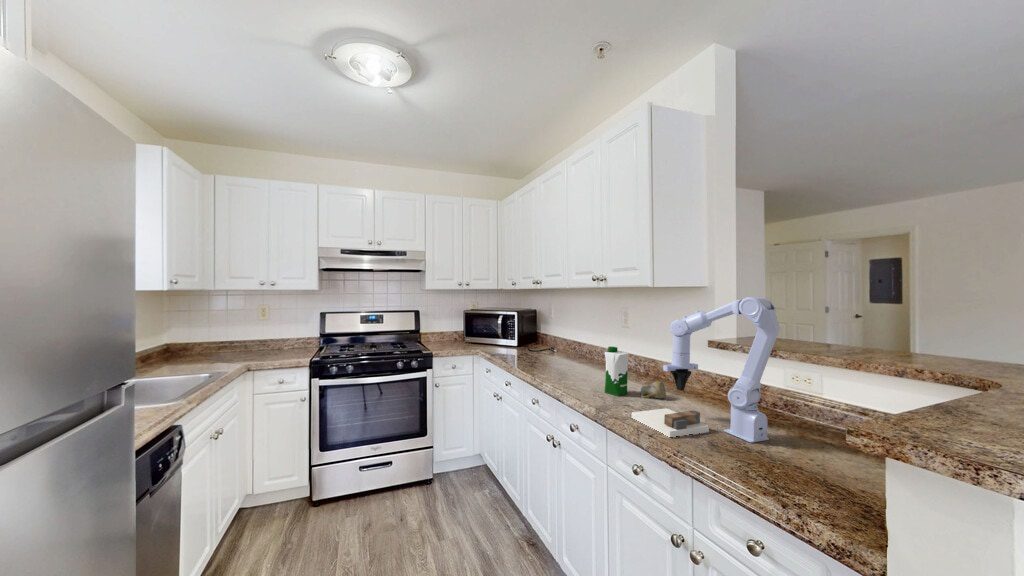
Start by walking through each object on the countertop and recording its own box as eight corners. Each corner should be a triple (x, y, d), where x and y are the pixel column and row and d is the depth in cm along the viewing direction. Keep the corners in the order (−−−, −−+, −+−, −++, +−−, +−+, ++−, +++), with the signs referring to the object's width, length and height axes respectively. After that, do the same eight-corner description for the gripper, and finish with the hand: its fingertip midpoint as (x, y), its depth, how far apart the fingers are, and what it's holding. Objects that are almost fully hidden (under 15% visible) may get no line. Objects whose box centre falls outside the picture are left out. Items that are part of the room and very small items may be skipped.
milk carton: (612, 389, 165) (613, 345, 165) (630, 393, 159) (631, 348, 159) (601, 392, 160) (602, 347, 160) (619, 397, 153) (620, 350, 153)
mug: (641, 393, 161) (654, 374, 160) (660, 407, 155) (673, 389, 153) (634, 391, 156) (647, 373, 155) (653, 407, 149) (666, 387, 148)
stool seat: (708, 432, 117) (709, 418, 117) (669, 438, 111) (670, 423, 111) (667, 413, 133) (667, 401, 133) (631, 418, 128) (631, 405, 128)
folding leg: (693, 419, 122) (693, 410, 122) (702, 422, 119) (702, 413, 119) (663, 423, 117) (664, 414, 117) (672, 427, 114) (672, 417, 114)
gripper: (687, 350, 138) (686, 385, 138) (657, 351, 133) (656, 388, 133) (703, 353, 131) (702, 390, 131) (671, 354, 126) (671, 393, 126)
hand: (680, 389), depth 132 cm, fingers closed
